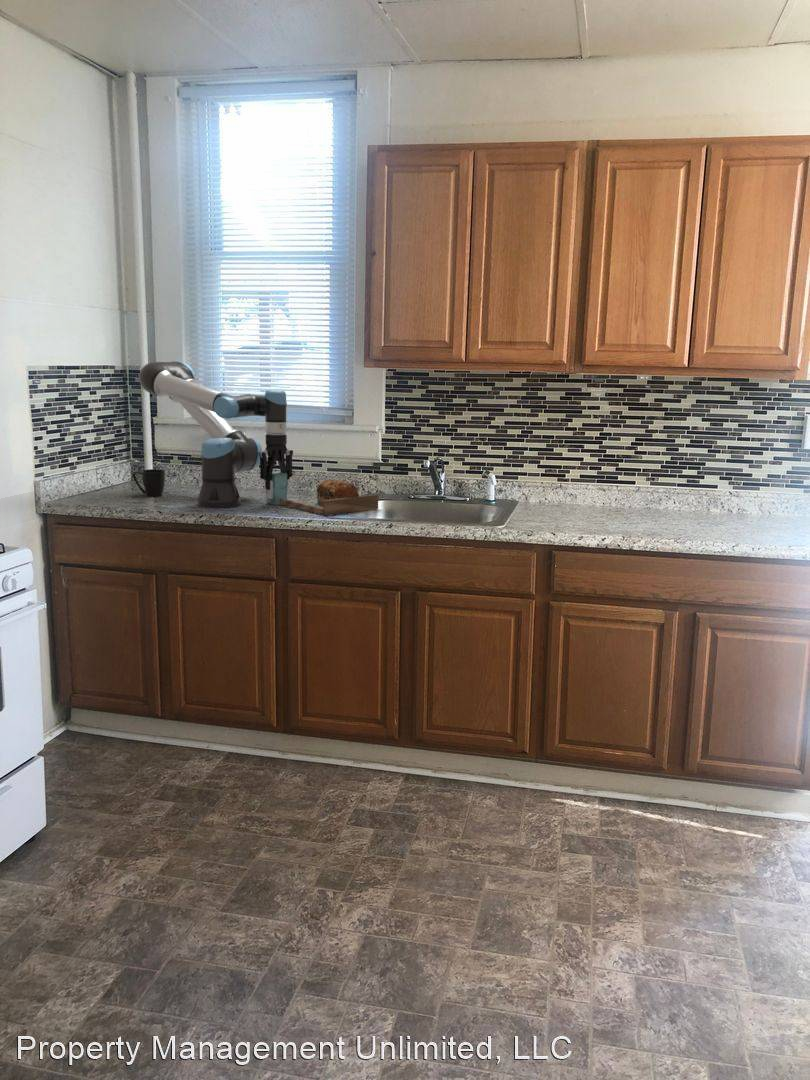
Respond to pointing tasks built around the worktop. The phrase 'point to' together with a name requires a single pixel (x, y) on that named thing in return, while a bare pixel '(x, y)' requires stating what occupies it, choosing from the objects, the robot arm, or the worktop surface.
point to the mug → (152, 482)
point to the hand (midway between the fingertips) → (276, 497)
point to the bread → (335, 490)
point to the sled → (328, 505)
